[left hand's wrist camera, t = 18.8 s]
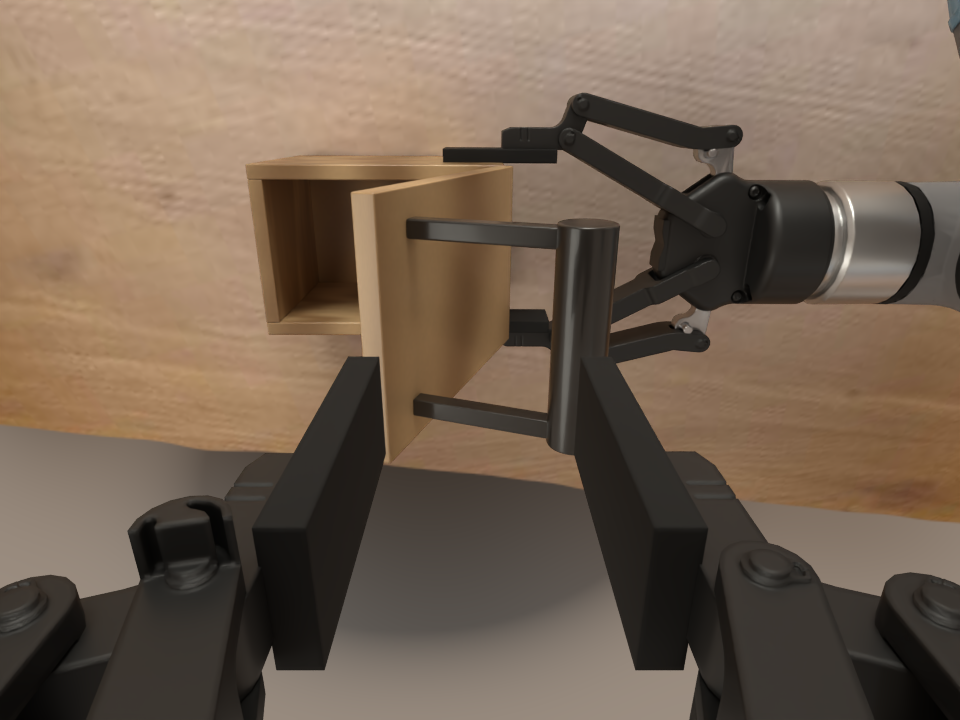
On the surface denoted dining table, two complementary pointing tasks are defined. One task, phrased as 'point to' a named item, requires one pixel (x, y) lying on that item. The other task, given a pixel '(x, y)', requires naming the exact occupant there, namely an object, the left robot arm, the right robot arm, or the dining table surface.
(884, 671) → the left robot arm
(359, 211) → the lid
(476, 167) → the chest
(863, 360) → the dining table surface
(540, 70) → the dining table surface
